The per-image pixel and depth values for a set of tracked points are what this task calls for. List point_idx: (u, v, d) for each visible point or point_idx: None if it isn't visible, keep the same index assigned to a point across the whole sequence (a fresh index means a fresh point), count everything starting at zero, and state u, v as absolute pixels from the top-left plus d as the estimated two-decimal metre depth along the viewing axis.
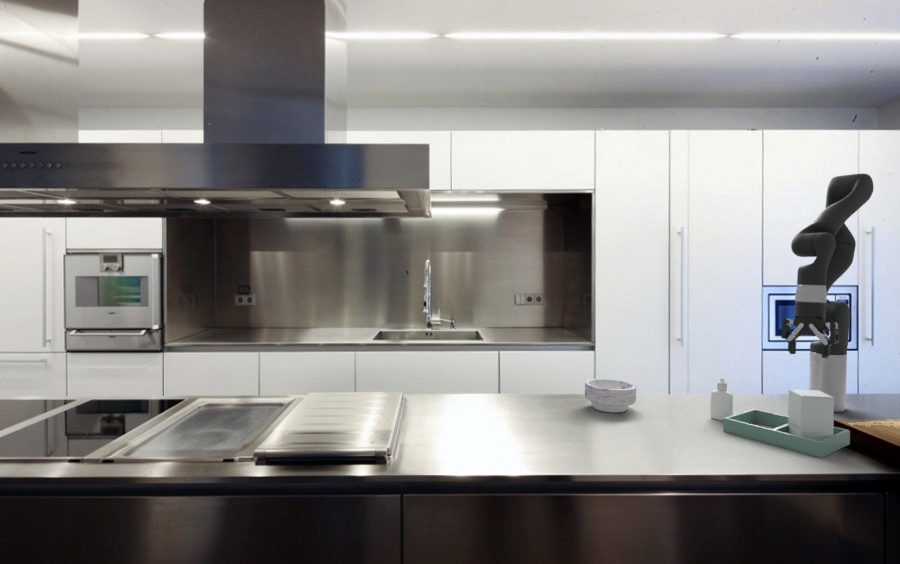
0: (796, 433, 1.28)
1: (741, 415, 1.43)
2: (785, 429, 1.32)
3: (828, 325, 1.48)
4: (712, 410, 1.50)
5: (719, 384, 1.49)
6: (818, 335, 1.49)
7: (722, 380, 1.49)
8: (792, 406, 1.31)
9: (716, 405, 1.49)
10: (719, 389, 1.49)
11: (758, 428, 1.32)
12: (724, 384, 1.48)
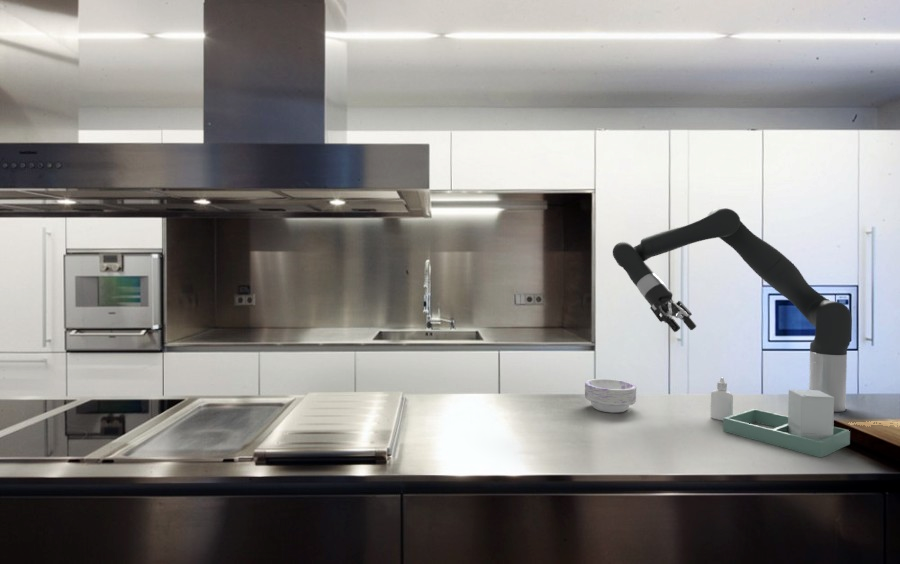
0: (796, 433, 1.28)
1: (741, 415, 1.43)
2: (785, 429, 1.32)
3: None
4: (712, 410, 1.50)
5: (719, 384, 1.49)
6: None
7: (722, 380, 1.49)
8: (792, 406, 1.31)
9: (716, 405, 1.49)
10: (719, 389, 1.49)
11: (758, 428, 1.32)
12: (724, 384, 1.48)
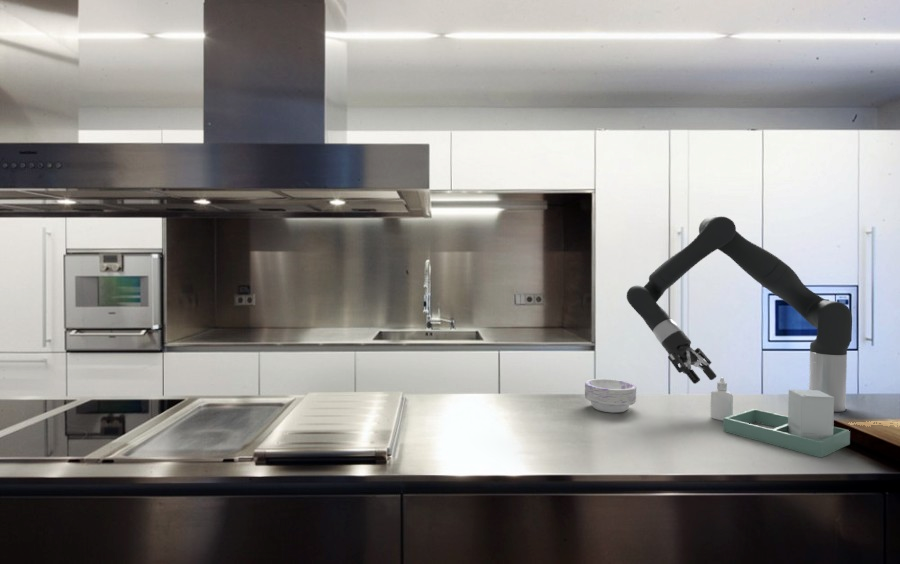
0: (796, 433, 1.28)
1: (741, 415, 1.43)
2: (785, 429, 1.32)
3: None
4: (712, 410, 1.50)
5: (719, 384, 1.49)
6: None
7: (722, 380, 1.49)
8: (792, 406, 1.31)
9: (716, 405, 1.49)
10: (719, 389, 1.49)
11: (758, 428, 1.32)
12: (724, 384, 1.48)
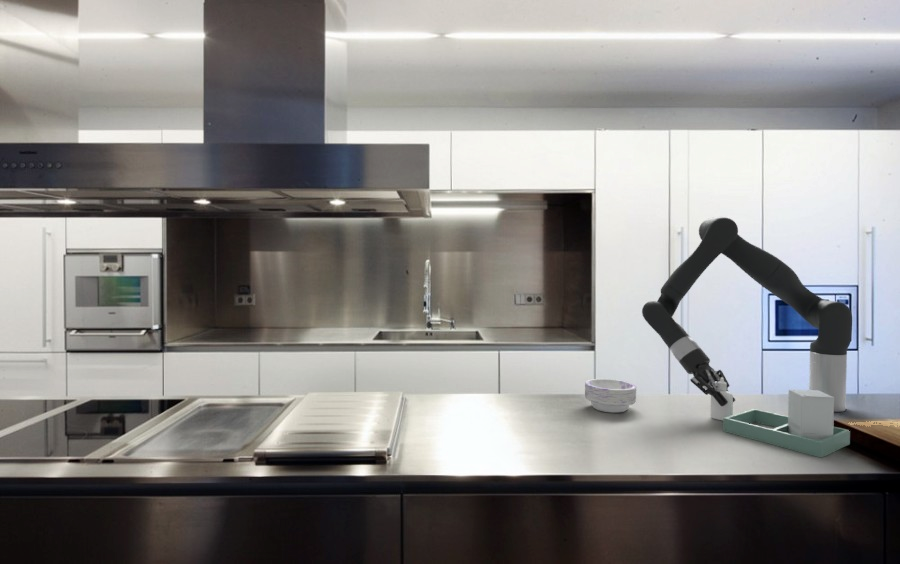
0: (796, 433, 1.28)
1: (741, 415, 1.43)
2: (785, 429, 1.32)
3: None
4: (712, 410, 1.50)
5: (719, 384, 1.49)
6: None
7: (722, 380, 1.49)
8: (792, 406, 1.31)
9: (716, 405, 1.49)
10: (719, 389, 1.49)
11: (758, 428, 1.32)
12: (724, 384, 1.48)
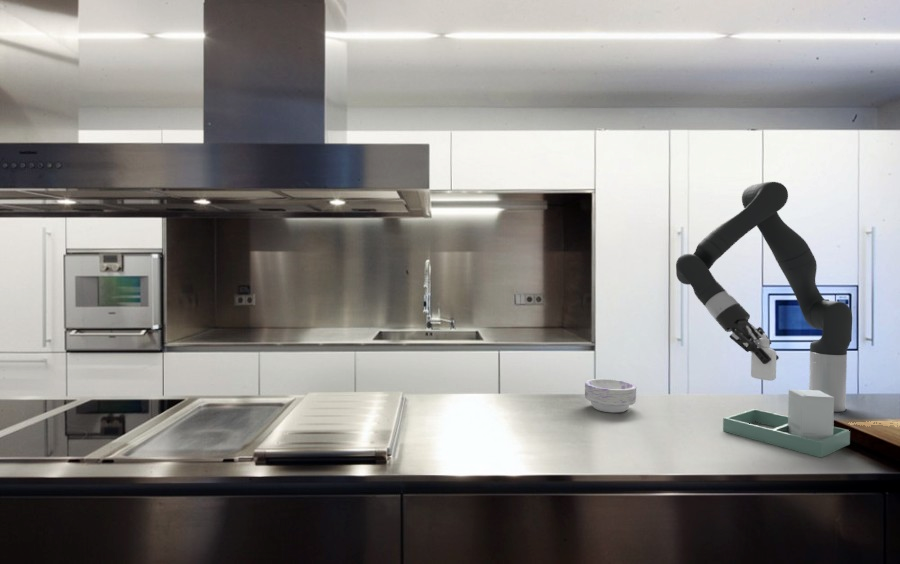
0: (796, 433, 1.28)
1: (741, 415, 1.43)
2: (785, 429, 1.32)
3: None
4: (753, 369, 1.39)
5: (761, 340, 1.37)
6: None
7: (764, 336, 1.37)
8: (792, 406, 1.31)
9: (757, 363, 1.37)
10: (761, 346, 1.37)
11: (758, 428, 1.32)
12: (767, 340, 1.36)
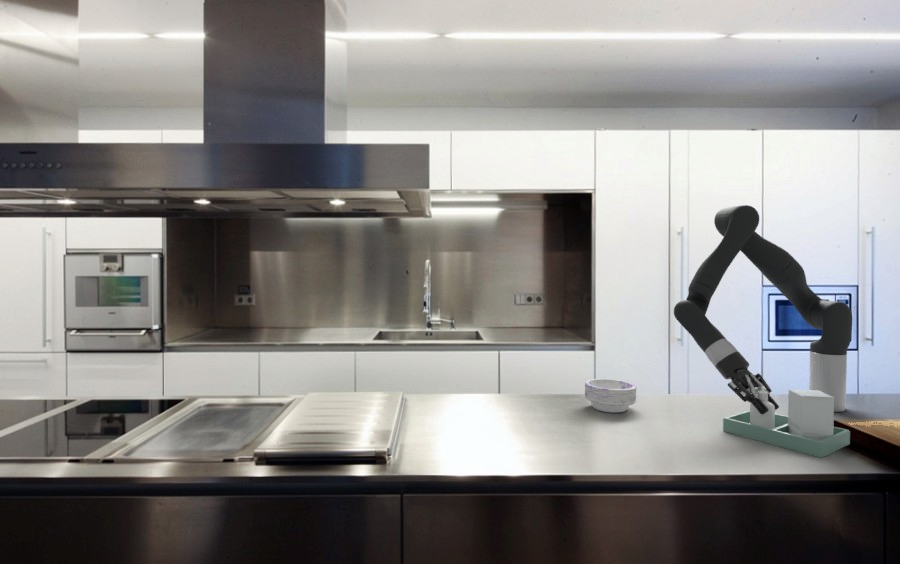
0: (796, 433, 1.28)
1: (741, 415, 1.43)
2: (785, 429, 1.32)
3: None
4: (752, 422, 1.39)
5: (760, 394, 1.38)
6: None
7: (763, 390, 1.38)
8: (792, 406, 1.31)
9: (756, 416, 1.38)
10: (760, 399, 1.38)
11: (758, 428, 1.32)
12: (765, 394, 1.37)
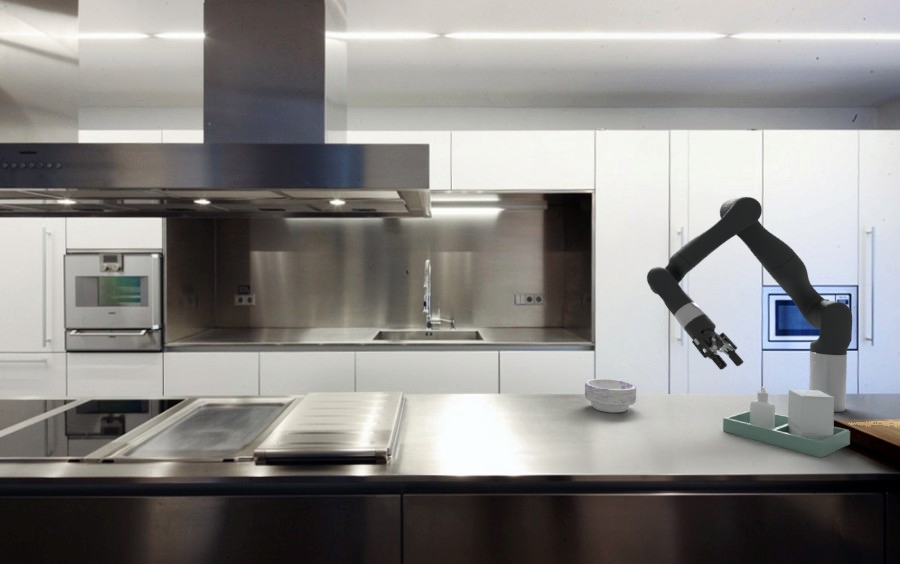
0: (796, 433, 1.28)
1: (741, 415, 1.43)
2: (785, 429, 1.32)
3: None
4: (752, 422, 1.39)
5: (760, 394, 1.38)
6: None
7: (763, 390, 1.38)
8: (792, 406, 1.31)
9: (756, 416, 1.38)
10: (760, 399, 1.38)
11: (758, 428, 1.32)
12: (765, 394, 1.37)
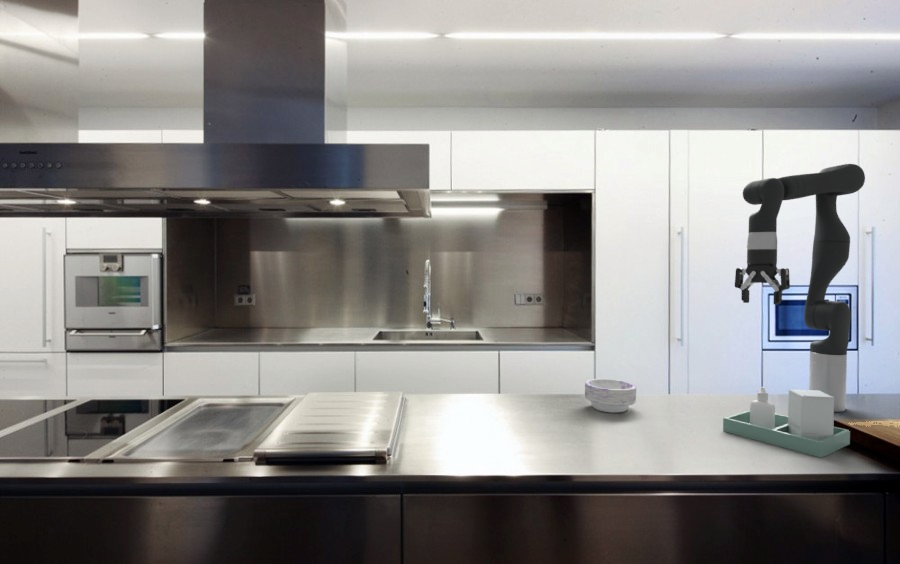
0: (796, 433, 1.28)
1: (741, 415, 1.43)
2: (785, 429, 1.32)
3: (779, 271, 1.48)
4: (752, 422, 1.39)
5: (760, 394, 1.38)
6: (769, 282, 1.49)
7: (763, 390, 1.38)
8: (792, 406, 1.31)
9: (756, 416, 1.38)
10: (760, 399, 1.38)
11: (758, 428, 1.32)
12: (765, 394, 1.37)
